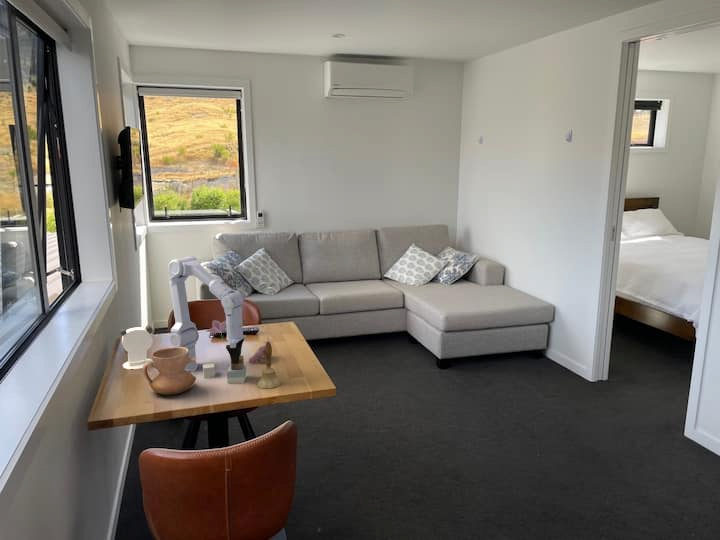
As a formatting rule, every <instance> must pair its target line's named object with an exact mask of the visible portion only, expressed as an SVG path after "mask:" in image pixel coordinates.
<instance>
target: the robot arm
mask: <svg viewBox="0 0 720 540" xmlns="http://www.w3.org/2000/svg"><path fill="white" fill-rule="evenodd" d="M201 264H202V263H201V260H199V259H198V258H197V257H195V256H193V255H190V256H186V257H182V258H177V259H176V258H174V259H172V260H170V262H169V263H168V264H167V272H168V281H169V289H170V295H171V301H172V308H173V309H172V310H173V315H174V321H175V322H174V325H173V326H172V327H171V328H170V338H169V340H170V344H171V347H170V348H172V347H184V348H187V349H188V351H189V355H188V358H196V359H197V355H196V345H197V342H198V341H199V337H200V334H199V331H198V329H197V327H196V325H197V324H196V323H195V322H192V321H191V318H190V311H189V304H188V296H187V289H186V284H185V283H186V280H188V278H189V276H192V277H195V278H197V279H198V280H199V281H200V282H202V283H203V284H205V285H206V286H208V290H209V292H210V293H211V294H212V295H214V296H215V297H216V298H217V299H218V300H220V302H221V306H222V308H223V310H224V313H225V320H226V341H228V343H229V344H226V345H225V348H226V349H225V350H227V352H228V354H229V358H230V362H231V361H232V364H238V362H239V356H242V350H243V349H242V348H243V344H244V341H245V339H247V334H244V331H243V330H244V327H243V325H244V324H243V311H242V310H243V307H242V306H243V305H244V304H245V296H244V294H243V292H241V291H240V290H235V289H233V288H232V287H230V286H229V285H228V284H227V283H226V282H225V280H223V279H219V278H218V279H216V278H215V277H214V276H212V275H211V273H210V272H208V271H207V270H206V269H205V268H204V267H203V266H202V265H201ZM199 364H200V363H199V362H197V360H196V361H195V362H193V361H192V362H189V363H188V364H187V365H186V366H185V369H184V370H186V371H188V372H195V371H196V370H197V368H198V366H199Z"/></svg>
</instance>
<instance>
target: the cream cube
mask: <svg viewBox="0 0 720 540" xmlns="http://www.w3.org/2000/svg"><path fill="white" fill-rule="evenodd" d="M215 369H216V367H215V364H214V363H207V364H202V372H203V373H202V374H203V379H209V378H208V377H211V378H216V370H215Z"/></svg>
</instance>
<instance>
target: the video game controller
mask: <svg viewBox="0 0 720 540" xmlns="http://www.w3.org/2000/svg"><path fill="white" fill-rule="evenodd" d="M265 346H266V345H262V346H260V347H258V349H257V350H256V352H255V353H254V354H253V355H252V356H251V357H250V358H248V363H249V364H251V363H253V364H255V363H257V362H258V363H260V362H261V361H262V360H263V359H265V358H266V356H265Z"/></svg>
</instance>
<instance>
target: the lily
mask: <svg viewBox="0 0 720 540" xmlns="http://www.w3.org/2000/svg"><path fill="white" fill-rule="evenodd" d="M211 324H212V325H211V326H212V327H211V328H209V329H207V330H205V332H206V333H207V332H208V333H209V335H208V337H210V336H212V335H213V336H215V335H217V334H218V333H221V335H220V336H221V338H222V340H225V339H224V335H223V336H222V332H224V333H225V330H227V328H226V319H225V320H223V321H222V322H220V321H219V320H216V319H214V320H212V323H211ZM216 333H217V334H216ZM214 334H215V335H214ZM213 336H212V337H213ZM210 338H211V337H210Z"/></svg>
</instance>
